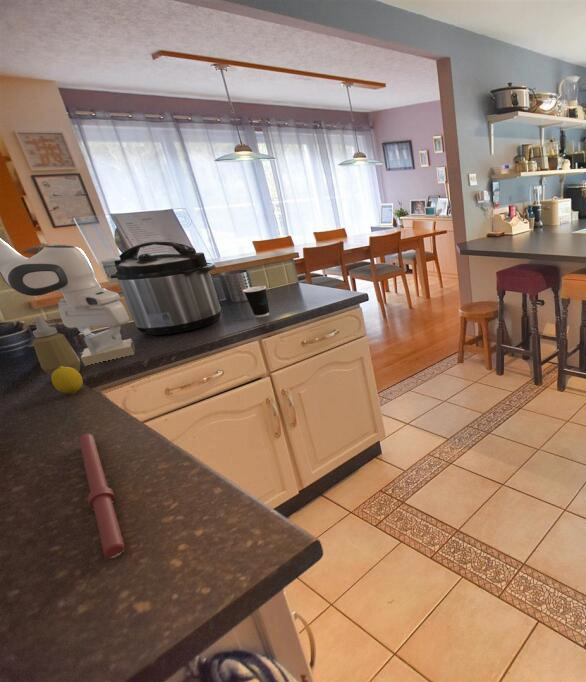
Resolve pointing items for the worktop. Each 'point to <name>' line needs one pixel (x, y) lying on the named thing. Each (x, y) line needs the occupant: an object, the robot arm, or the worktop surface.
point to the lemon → (66, 379)
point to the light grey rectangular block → (101, 341)
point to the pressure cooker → (168, 289)
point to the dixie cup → (258, 300)
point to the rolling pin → (101, 498)
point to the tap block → (109, 353)
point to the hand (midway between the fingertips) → (104, 339)
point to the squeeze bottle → (53, 348)
